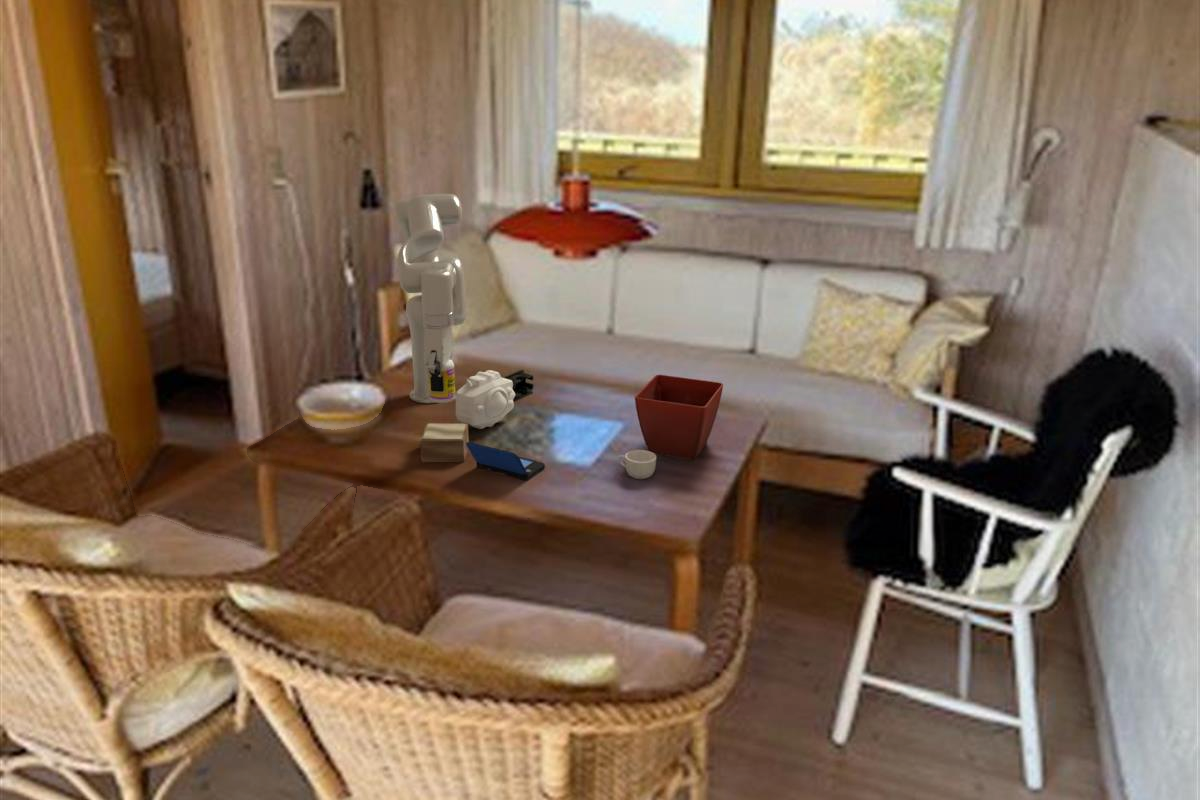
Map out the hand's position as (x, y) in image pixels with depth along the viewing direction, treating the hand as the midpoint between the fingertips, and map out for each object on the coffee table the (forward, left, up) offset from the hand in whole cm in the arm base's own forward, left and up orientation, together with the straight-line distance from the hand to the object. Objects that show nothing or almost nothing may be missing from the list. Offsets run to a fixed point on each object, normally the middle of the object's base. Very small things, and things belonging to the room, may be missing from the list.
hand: (442, 385), depth 236 cm
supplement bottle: (0, 0, -4) cm, 4 cm away
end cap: (-45, +8, -19) cm, 50 cm away
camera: (-20, +6, -19) cm, 28 cm away
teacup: (+4, +51, -19) cm, 55 cm away
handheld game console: (+7, +18, -19) cm, 28 cm away
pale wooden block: (0, 0, -19) cm, 19 cm away
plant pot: (-14, +60, -19) cm, 64 cm away
